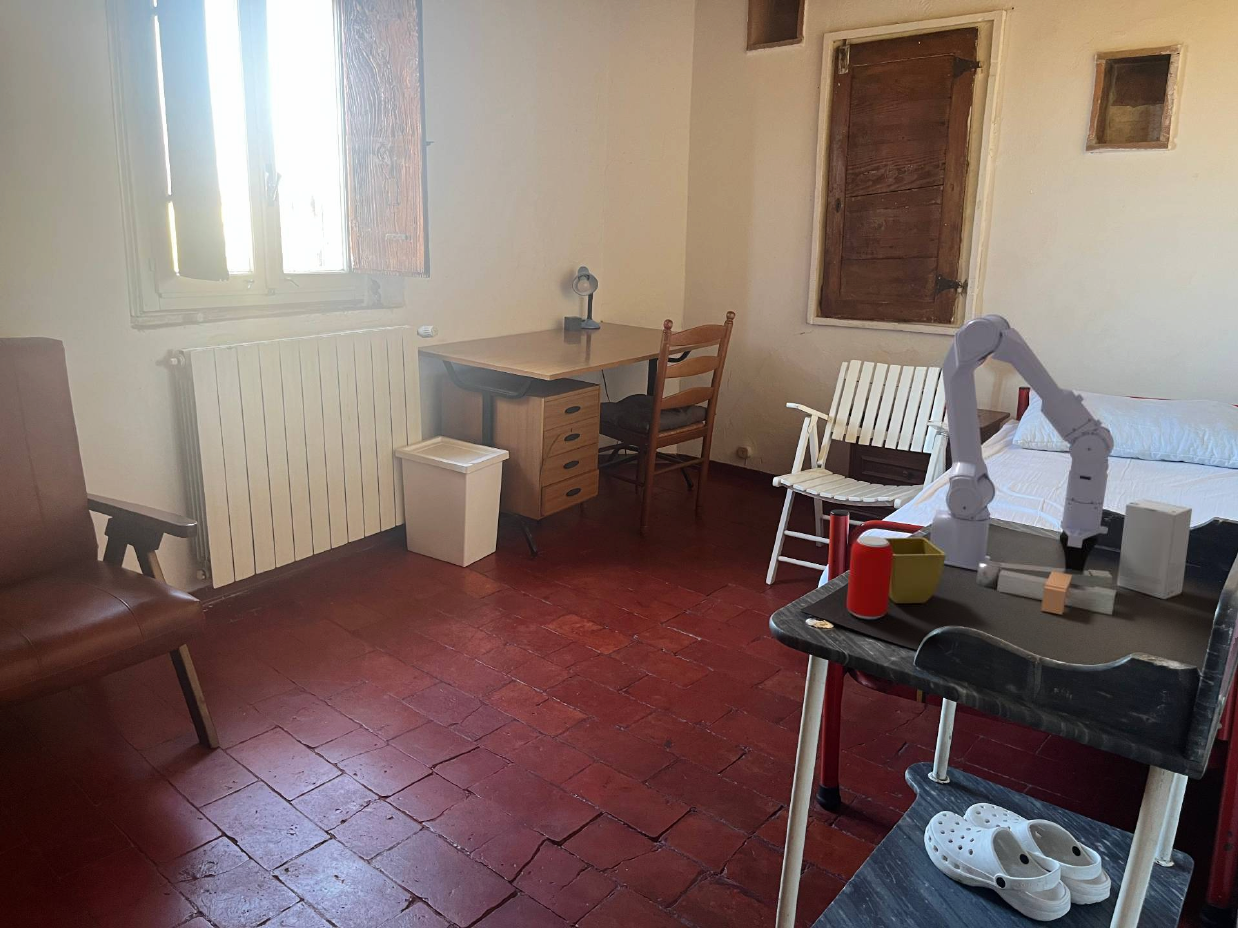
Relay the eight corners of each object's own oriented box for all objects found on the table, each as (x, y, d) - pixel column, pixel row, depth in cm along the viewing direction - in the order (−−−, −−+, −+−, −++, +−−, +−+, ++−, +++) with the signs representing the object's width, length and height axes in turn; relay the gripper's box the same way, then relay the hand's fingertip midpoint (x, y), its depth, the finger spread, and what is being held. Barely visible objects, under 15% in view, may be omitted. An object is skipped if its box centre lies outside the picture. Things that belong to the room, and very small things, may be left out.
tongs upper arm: (977, 585, 154) (980, 566, 153) (974, 576, 158) (976, 557, 157) (1112, 599, 149) (1116, 579, 148) (1105, 589, 153) (1108, 569, 152)
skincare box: (1181, 594, 152) (1197, 508, 148) (1163, 601, 149) (1178, 514, 145) (1131, 578, 159) (1144, 496, 155) (1112, 584, 155) (1125, 501, 152)
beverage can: (840, 615, 140) (846, 541, 137) (854, 603, 145) (861, 531, 142) (878, 625, 137) (886, 549, 134) (892, 612, 142) (899, 539, 139)
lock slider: (1041, 610, 143) (1044, 586, 142) (1048, 594, 150) (1052, 571, 149) (1061, 614, 142) (1065, 590, 141) (1068, 598, 148) (1072, 575, 148)
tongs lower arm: (996, 591, 151) (998, 573, 151) (999, 586, 154) (1002, 568, 153) (1111, 614, 143) (1114, 595, 142) (1113, 609, 145) (1116, 590, 144)
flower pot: (868, 588, 152) (872, 537, 149) (919, 587, 152) (924, 536, 150) (887, 609, 143) (893, 555, 141) (941, 608, 144) (947, 554, 142)
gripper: (1107, 513, 144) (1095, 594, 147) (1115, 493, 156) (1103, 568, 159) (1058, 506, 147) (1047, 585, 151) (1069, 487, 159) (1059, 560, 162)
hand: (1073, 576), depth 155 cm, fingers closed
